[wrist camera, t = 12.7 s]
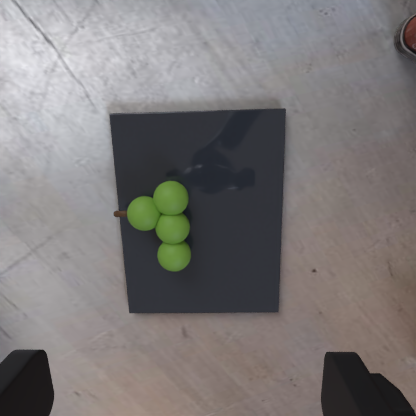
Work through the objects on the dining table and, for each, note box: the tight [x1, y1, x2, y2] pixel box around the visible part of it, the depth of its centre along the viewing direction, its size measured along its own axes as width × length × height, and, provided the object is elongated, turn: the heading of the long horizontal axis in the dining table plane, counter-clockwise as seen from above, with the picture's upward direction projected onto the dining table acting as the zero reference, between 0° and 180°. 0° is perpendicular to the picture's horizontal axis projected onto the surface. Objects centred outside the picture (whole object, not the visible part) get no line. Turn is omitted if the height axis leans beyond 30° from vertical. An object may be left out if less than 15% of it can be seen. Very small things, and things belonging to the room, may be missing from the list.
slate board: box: [110, 109, 286, 313], centre depth 26 cm, size 18×14×1 cm
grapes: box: [114, 181, 191, 271], centre depth 24 cm, size 8×3×6 cm
